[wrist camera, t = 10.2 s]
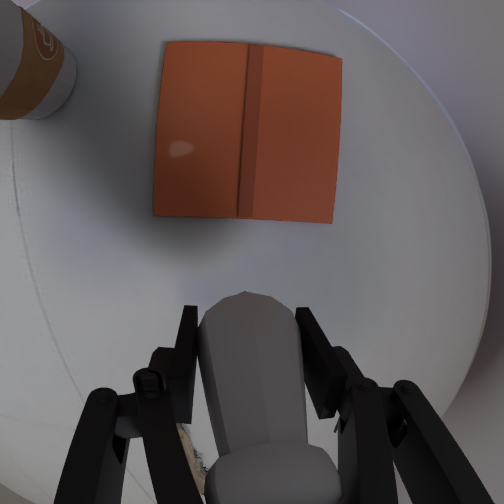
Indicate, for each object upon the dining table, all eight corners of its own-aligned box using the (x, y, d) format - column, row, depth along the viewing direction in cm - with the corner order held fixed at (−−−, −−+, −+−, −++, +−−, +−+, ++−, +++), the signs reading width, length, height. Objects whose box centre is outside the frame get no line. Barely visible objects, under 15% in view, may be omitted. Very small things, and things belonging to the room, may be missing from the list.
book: (167, 45, 17) (165, 41, 16) (339, 60, 18) (343, 57, 17) (154, 214, 20) (152, 216, 20) (329, 222, 22) (333, 224, 21)
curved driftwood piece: (218, 495, 33) (217, 506, 31) (120, 428, 27) (115, 441, 25) (270, 485, 32) (270, 496, 30) (176, 413, 26) (172, 428, 24)
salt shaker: (283, 268, 17) (390, 457, 5) (297, 346, 19) (368, 521, 6) (185, 290, 17) (141, 501, 5) (212, 365, 19) (214, 551, 6)
